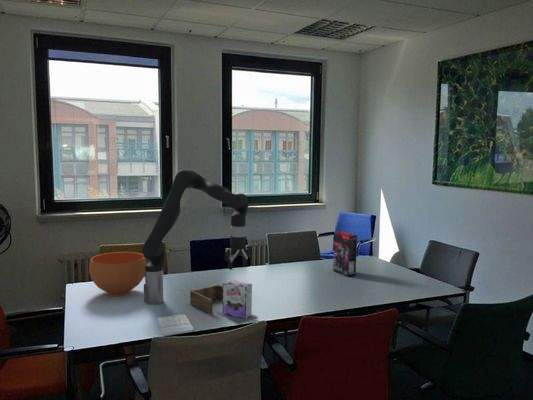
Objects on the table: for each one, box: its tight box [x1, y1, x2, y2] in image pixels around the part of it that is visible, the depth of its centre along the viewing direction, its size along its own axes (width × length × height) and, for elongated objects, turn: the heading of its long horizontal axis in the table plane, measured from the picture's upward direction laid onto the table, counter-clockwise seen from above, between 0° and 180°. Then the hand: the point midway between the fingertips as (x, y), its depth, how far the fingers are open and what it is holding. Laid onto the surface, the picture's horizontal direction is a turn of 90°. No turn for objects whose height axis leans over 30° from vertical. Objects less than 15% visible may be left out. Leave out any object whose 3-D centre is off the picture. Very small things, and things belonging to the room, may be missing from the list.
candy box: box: [222, 279, 253, 319], centre depth 219 cm, size 14×6×16 cm, turn 60°
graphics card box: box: [332, 231, 358, 277], centre depth 298 cm, size 17×7×27 cm, turn 28°
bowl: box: [88, 251, 148, 298], centre depth 250 cm, size 30×30×20 cm
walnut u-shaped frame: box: [189, 284, 223, 315], centre depth 234 cm, size 18×19×7 cm
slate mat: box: [217, 310, 258, 324], centre depth 220 cm, size 12×17×1 cm
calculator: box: [157, 314, 194, 336], centre depth 206 cm, size 13×20×2 cm, turn 22°
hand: (237, 267), depth 217 cm, fingers open, 8 cm apart
